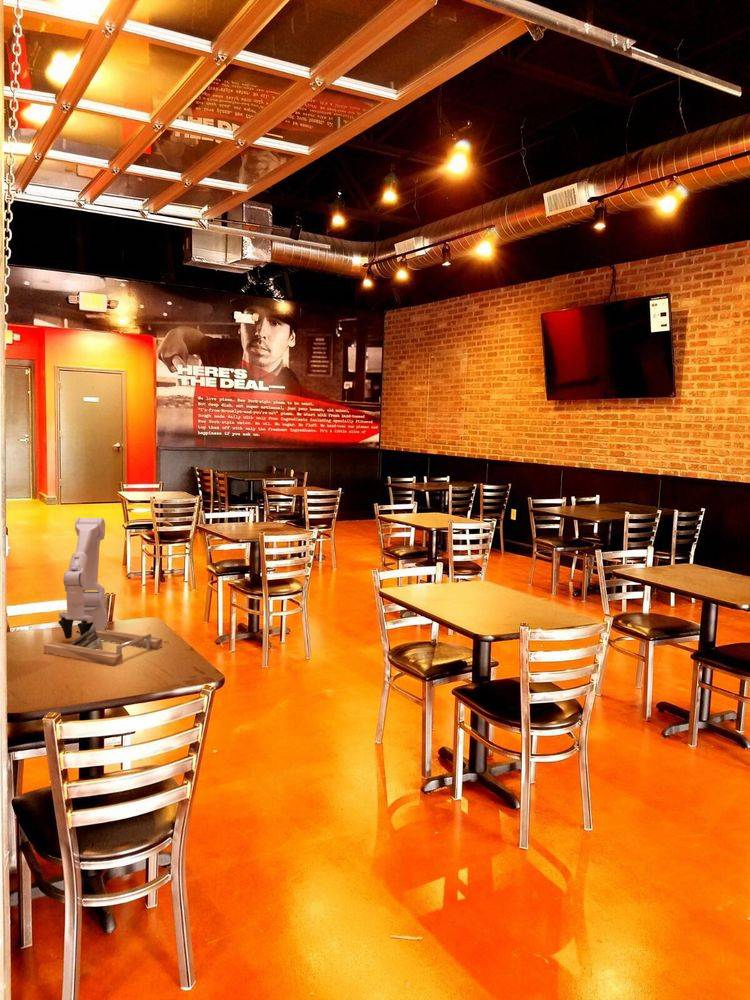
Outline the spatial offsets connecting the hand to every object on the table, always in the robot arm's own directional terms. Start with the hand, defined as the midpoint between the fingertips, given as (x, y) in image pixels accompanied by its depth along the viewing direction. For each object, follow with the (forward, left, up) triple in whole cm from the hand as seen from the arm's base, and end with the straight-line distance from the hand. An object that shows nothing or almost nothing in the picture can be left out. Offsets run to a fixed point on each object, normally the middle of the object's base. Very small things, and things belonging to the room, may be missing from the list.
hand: (76, 639), depth 271 cm
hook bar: (+1, +28, -2) cm, 28 cm away
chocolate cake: (+4, +9, -2) cm, 10 cm away
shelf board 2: (-9, +14, -2) cm, 17 cm away
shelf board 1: (+11, +14, -2) cm, 18 cm away
